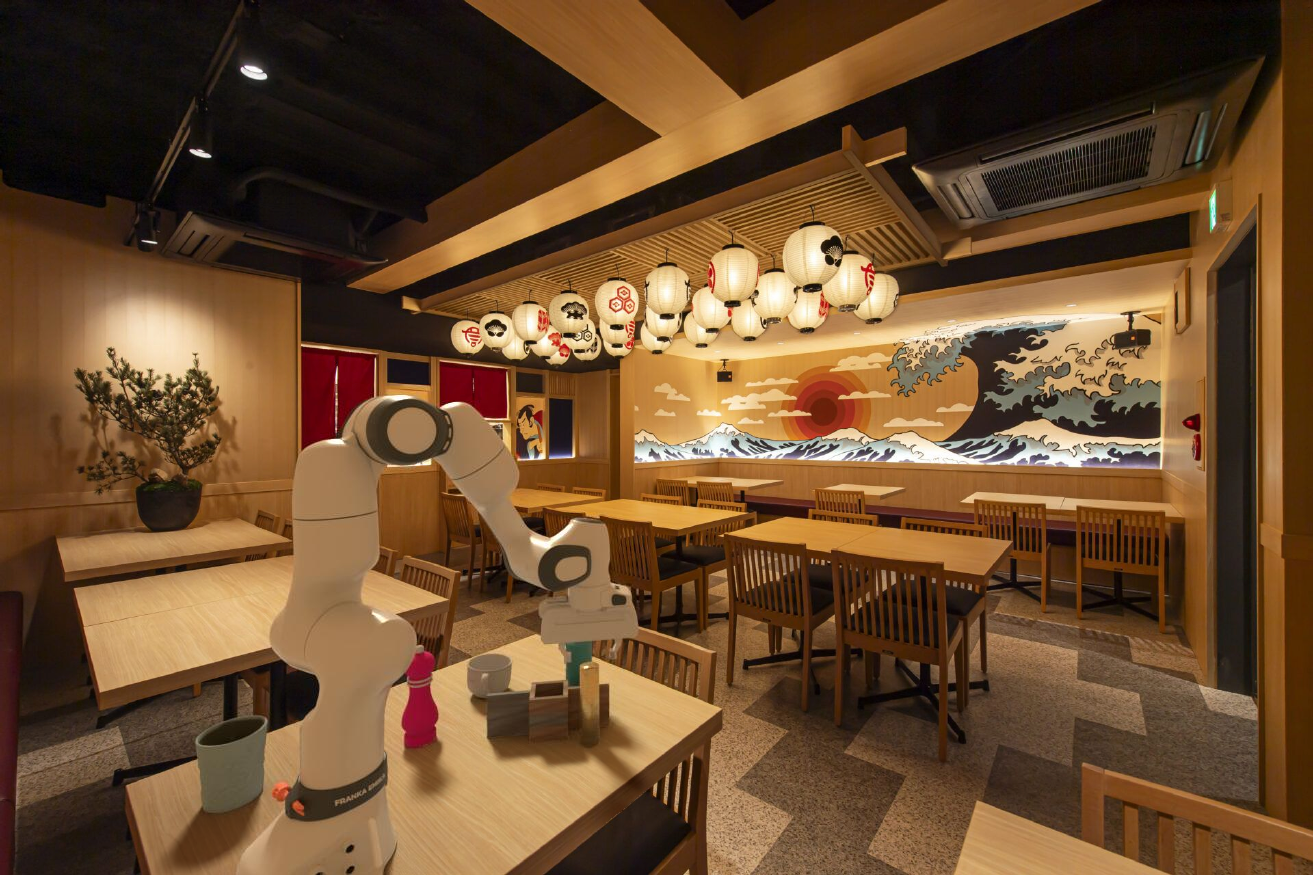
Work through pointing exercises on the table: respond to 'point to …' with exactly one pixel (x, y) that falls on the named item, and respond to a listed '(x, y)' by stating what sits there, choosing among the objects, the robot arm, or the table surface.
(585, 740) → the brass pin
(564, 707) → the brown winged open box
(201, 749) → the green oval vase
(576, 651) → the beverage bottle
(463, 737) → the table surface
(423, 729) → the pepper mill
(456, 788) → the table surface
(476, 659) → the teacup
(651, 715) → the table surface
